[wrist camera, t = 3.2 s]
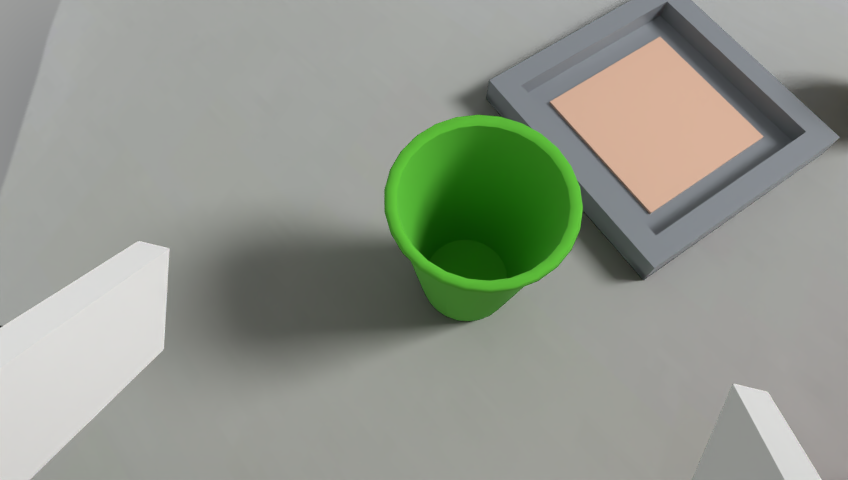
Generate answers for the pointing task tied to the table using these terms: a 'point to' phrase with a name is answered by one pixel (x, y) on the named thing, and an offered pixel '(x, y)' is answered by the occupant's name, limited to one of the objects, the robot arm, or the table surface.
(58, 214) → the table surface
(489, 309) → the cup
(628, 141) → the gray picture frame
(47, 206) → the table surface
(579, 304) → the table surface
